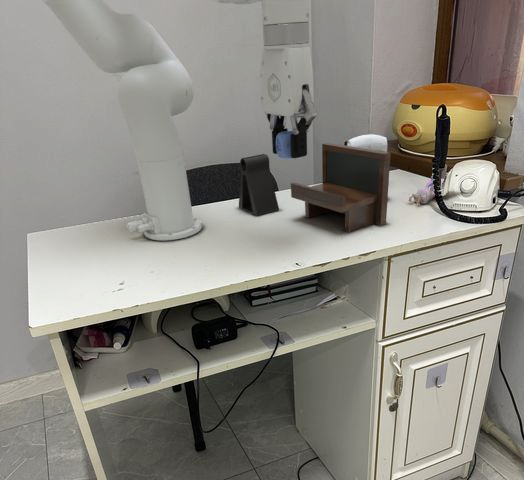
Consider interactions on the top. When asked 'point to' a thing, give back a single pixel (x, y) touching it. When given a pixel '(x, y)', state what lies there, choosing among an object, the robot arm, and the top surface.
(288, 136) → the decorative dice
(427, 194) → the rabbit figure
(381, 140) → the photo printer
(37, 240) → the top surface
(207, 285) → the top surface
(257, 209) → the phone stand
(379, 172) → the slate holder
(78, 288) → the top surface
